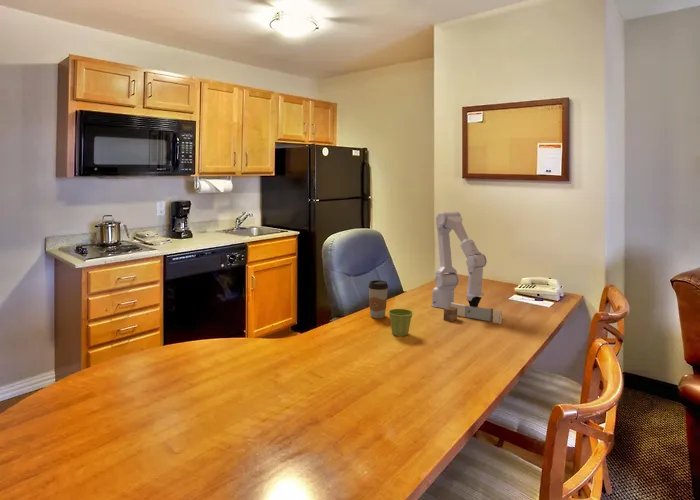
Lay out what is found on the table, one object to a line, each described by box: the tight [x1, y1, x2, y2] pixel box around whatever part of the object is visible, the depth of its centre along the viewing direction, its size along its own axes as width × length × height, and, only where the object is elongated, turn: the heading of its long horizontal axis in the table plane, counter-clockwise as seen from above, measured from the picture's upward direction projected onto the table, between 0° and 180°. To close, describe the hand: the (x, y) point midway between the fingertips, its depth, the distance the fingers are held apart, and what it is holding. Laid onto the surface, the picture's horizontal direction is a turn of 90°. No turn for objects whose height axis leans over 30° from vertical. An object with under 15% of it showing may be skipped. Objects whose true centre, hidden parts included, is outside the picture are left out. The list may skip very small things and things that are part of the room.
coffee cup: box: [368, 279, 389, 319], centre depth 188 cm, size 8×8×15 cm
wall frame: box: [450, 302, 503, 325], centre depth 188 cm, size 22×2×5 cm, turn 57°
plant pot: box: [387, 308, 414, 337], centre depth 167 cm, size 9×9×9 cm
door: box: [464, 304, 494, 322], centre depth 186 cm, size 11×2×5 cm, turn 59°
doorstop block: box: [443, 306, 458, 323], centre depth 186 cm, size 4×5×5 cm
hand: (473, 313), depth 189 cm, fingers closed
